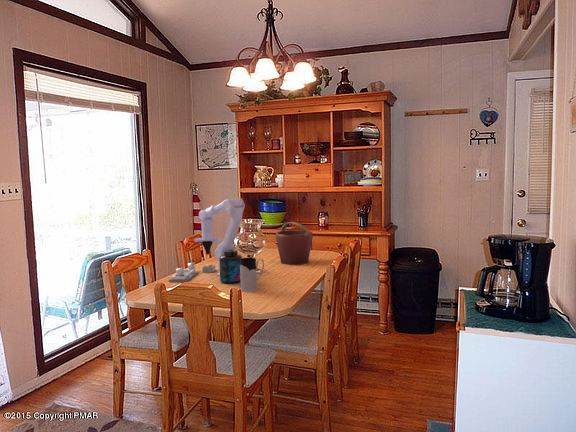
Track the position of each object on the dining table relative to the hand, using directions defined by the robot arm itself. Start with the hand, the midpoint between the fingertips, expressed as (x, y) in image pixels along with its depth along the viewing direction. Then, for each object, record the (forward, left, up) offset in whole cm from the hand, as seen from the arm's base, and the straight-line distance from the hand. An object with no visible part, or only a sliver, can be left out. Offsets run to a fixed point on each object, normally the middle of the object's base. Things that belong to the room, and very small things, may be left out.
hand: (207, 254), depth 267 cm
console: (0, 0, -10) cm, 10 cm away
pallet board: (-6, +17, -10) cm, 20 cm away
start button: (0, 0, -10) cm, 11 cm away
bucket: (-10, -52, -10) cm, 54 cm away
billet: (+5, +8, -10) cm, 14 cm away
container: (-30, 0, -10) cm, 32 cm away
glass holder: (-50, -2, -10) cm, 51 cm away
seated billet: (-11, +21, -9) cm, 25 cm away
